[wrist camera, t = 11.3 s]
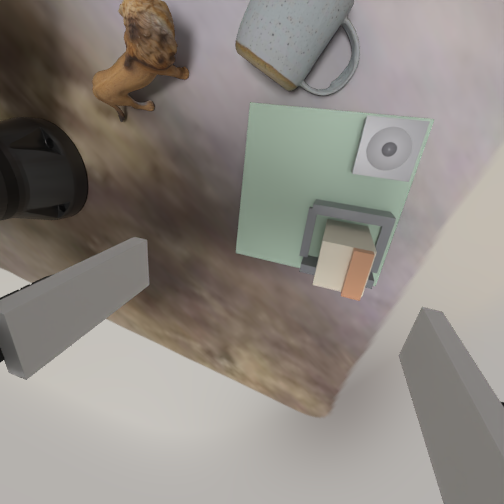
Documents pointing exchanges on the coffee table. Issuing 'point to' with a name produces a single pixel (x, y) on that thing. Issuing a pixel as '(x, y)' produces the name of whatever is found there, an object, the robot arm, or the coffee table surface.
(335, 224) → the plug
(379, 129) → the fan
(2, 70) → the coffee table surface
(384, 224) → the header
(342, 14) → the ceramic mug
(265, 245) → the board
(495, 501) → the robot arm
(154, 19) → the lion figurine
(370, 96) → the coffee table surface
